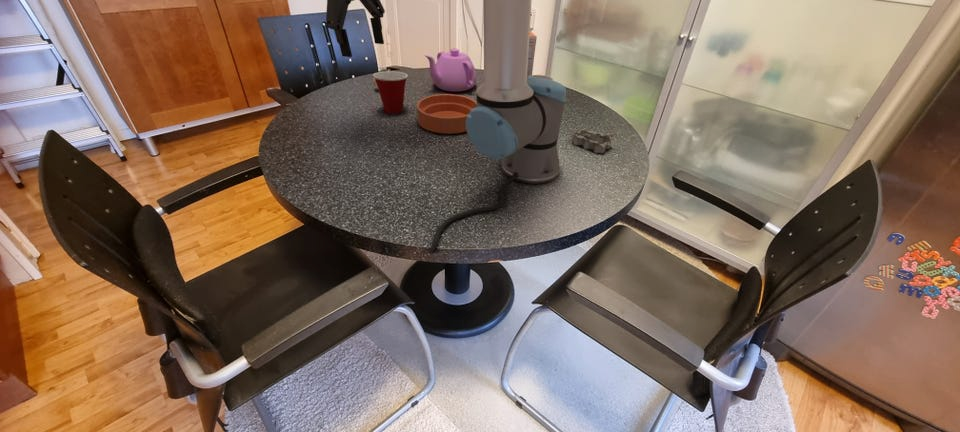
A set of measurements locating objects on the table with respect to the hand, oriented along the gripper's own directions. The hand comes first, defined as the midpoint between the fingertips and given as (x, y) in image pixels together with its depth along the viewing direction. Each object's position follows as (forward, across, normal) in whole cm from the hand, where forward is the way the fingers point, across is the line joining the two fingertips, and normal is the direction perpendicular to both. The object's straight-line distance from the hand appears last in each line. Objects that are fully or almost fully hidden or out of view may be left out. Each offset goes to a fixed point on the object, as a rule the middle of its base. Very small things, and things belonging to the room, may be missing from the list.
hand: (364, 49), depth 102 cm
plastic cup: (+22, -11, -3) cm, 25 cm away
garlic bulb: (+22, -25, -18) cm, 38 cm away
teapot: (+24, -41, +2) cm, 47 cm away
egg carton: (+27, -20, +61) cm, 70 cm away
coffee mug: (+26, -42, +37) cm, 62 cm away
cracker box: (+26, -55, +25) cm, 65 cm away
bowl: (+24, -13, +17) cm, 32 cm away
